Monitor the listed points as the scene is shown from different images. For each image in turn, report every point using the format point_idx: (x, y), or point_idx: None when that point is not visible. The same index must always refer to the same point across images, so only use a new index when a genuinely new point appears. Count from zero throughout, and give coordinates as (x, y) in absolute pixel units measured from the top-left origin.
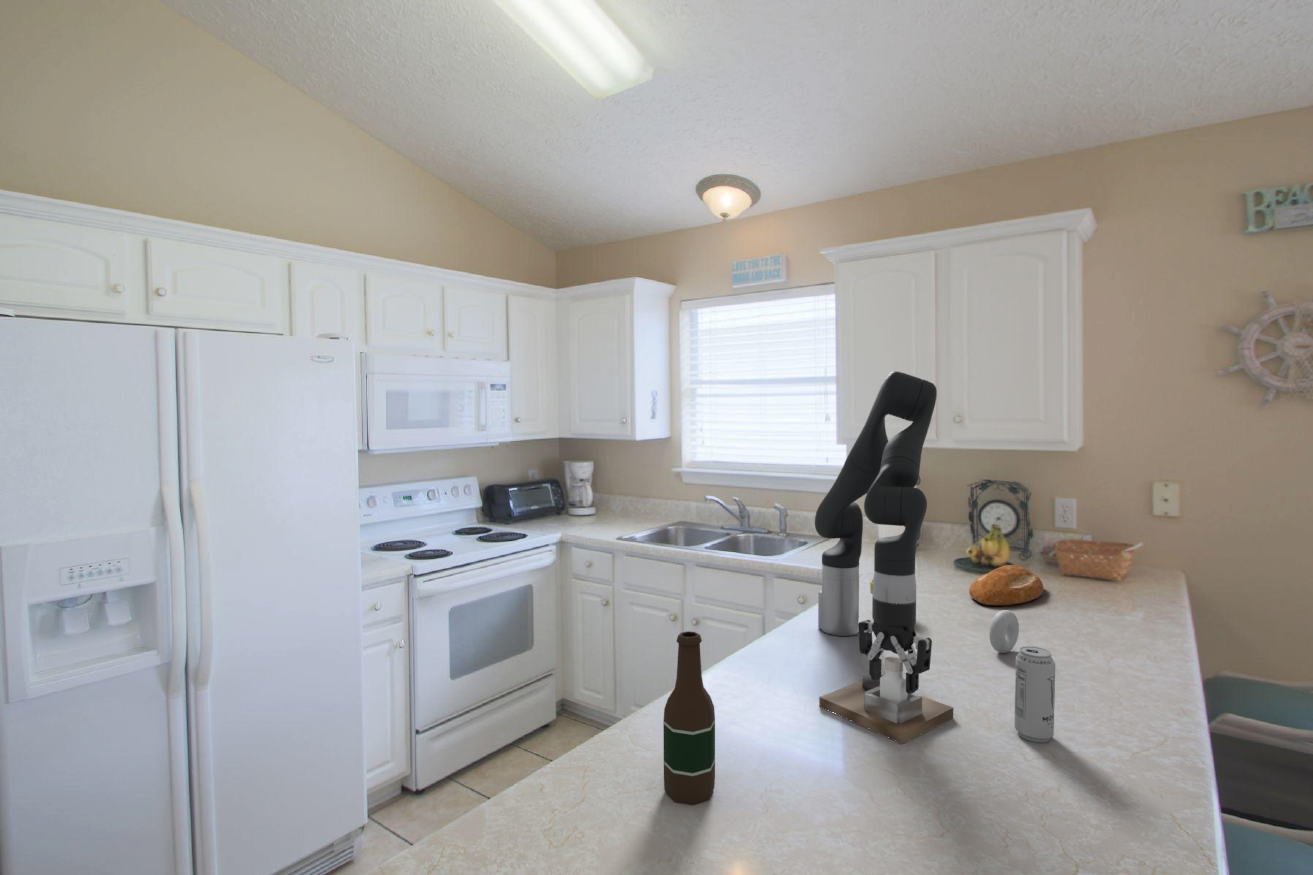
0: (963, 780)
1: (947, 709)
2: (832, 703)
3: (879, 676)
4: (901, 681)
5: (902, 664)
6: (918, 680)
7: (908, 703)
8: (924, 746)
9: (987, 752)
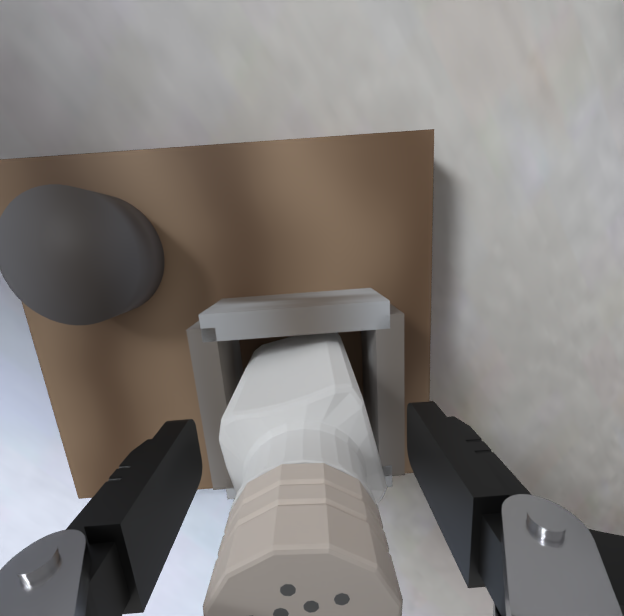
0: (614, 463)
1: (427, 172)
2: None
3: (190, 439)
4: (378, 481)
5: (392, 570)
6: (496, 459)
7: (404, 422)
8: (460, 405)
9: (607, 281)
